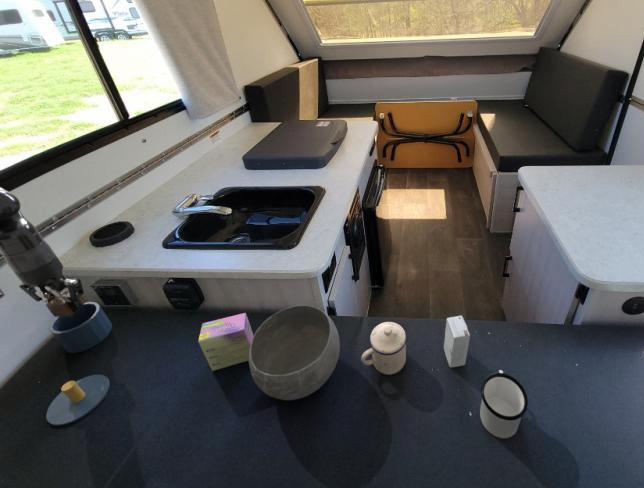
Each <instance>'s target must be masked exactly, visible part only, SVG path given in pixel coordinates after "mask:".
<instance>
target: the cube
mask: <svg viewBox="0 0 644 488" xmlns="http://www.w3.org/2000/svg"><path fill="white" fill-rule="evenodd" d="M62 292H63V291H61V292H60V293H62ZM67 296H68V297H69V296H70V294H69V292H68V293H67ZM79 300H80V301H81V303H82V304H83V305H84V304H85V303H86V302H84V300H83V299H82V297H81V296H80V297H79ZM45 307H46V308H47V309H48V311H49V312H50V313H51V314H52V316H53V317H55V318H56V317H68V316H72V315H73V314H74V313H75V312H73V311H72V309H71V308H70V307H69V305H68V304H67V302H66V301H65V300H64V299H62V298H58V297H57V296H55V297H54V298H53V299H52V300H51V301H50V302H49V303H45Z"/></svg>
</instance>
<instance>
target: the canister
mask: <svg viewBox="0 0 644 488" xmlns="http://www.w3.org/2000/svg"><path fill="white" fill-rule="evenodd" d="M84 303H85V304H84V305H83V306H82V308H81V309H80V310H79V311H77V312H75V313H74V314H73V315H72V316H68V317H55V318H53V320H52V321H51V323H50V324H49V326H48V330H49V332H50V333H51V334H52V336H54V338H55V339H56V340H57V342H58V343H59V344H60V346H62V348H63V349H64V351H66V353H70V354H78V353H82V352H84V351H87V350H90V349H92V348H94V347H95V346H97V345H98V344H100V343H102V341H104V339H106V338H107V337H109V334H110V333H111V332H112V329H113V323H112V322H111V321H110V319H109V318H108V316H107V314H106V313H105V311H104V310H103V309H102V307H101V306H100V304H98V303H97V302H94V301H88V302H84Z"/></svg>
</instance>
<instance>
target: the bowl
mask: <svg viewBox="0 0 644 488" xmlns="http://www.w3.org/2000/svg"><path fill="white" fill-rule="evenodd" d="M253 335H254V337H253V339H252V342H251V345H250V350H249V361H248V365H249V366H248V367H249V370H250V374H251V377H252V379H253V381H254V383H255V384H256V386H257V387H258V388H259V389H260V391H262V392H263V393H264V394H266V395H267V396H268V397H271V398H274V399H277V400H283V401H295V400H300V399H303V398H305V397H308V396H310V395H311V394H314V393H315V392H316V391H318V390H319V389H320V388H321V387H322V386H324V384H325V383H326V382H327V381H328V380H329V379H330V377H331V376H332V375H333V372H334V370H335V368H336V366H337V364H338V361H339V357H340V351H341V350H340V349H341V347H340V346H341V342H340V335H339V331H338V328H337V326H336V324H335V322H334V321H333V320H332V318H331V317H330V316H329V315H328V314H327V313H326V312H325V311H323V310H322V309H320V308H318V307H316V306H313V305H302V304H301V305H294V306H290V307H286V308H284V309H281V310H278V311H277V312H276V313H274V314H272V315H271V316H269V317H268V318H266V319H265V320H264V321H263V322H262V323H261V324H260V326H259V327H258V328H257V329H256V331H255V333H254V334H253Z"/></svg>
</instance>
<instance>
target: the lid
mask: <svg viewBox="0 0 644 488" xmlns="http://www.w3.org/2000/svg"><path fill="white" fill-rule="evenodd" d="M110 383H111V382H110V379H109V378H108V376H106V375H104V374H91V375H87V376H85V377H82V378H80V379H78V380H76V381H75V380H68V381H67V382H65V383H64V384H63V385H62V386H61V388H60V390H61V391H60V392H59V393H58V395H56V397H55V398H54V399H53V400H52V402H51V403H50V404H49V406H48V408H47V410H46V414H45V419H46V421H47V423H48V424H49V425H51V426H53V427H62V426H63V427H64V426H67V425H70V424H73V423H75V422H77V421H79V420H81V419H83V418H84V417H86V416H87V415H89V414H90V413H92V412H93V411H94V410H95V409H96V408H97V407H98V406H99V405H101V403H102V402H103V401H104V399H105V398H106V397H107V395H108V393H109V390H110V386H111V384H110Z"/></svg>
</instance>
